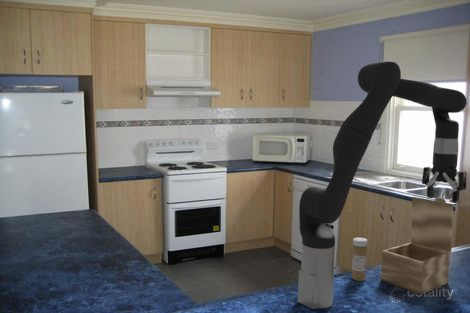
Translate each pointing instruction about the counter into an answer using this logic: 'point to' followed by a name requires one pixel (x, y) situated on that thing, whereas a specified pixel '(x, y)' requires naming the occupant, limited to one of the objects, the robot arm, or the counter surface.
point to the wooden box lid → (432, 223)
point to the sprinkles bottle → (359, 259)
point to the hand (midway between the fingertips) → (442, 199)
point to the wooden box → (415, 267)
